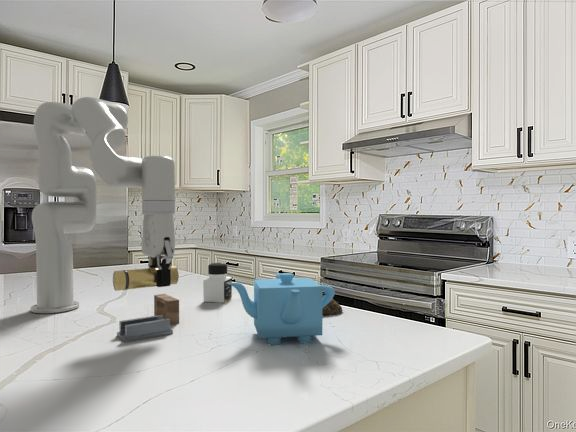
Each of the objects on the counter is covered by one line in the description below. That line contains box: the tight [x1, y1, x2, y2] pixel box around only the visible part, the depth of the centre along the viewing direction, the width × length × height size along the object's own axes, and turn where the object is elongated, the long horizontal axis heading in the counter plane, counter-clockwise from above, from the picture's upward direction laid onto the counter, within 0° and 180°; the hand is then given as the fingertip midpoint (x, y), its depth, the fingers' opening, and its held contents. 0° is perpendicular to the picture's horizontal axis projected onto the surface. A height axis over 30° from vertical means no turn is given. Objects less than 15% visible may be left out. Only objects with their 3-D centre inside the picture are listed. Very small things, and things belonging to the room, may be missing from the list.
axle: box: [112, 265, 180, 292], centre depth 101 cm, size 14×4×4 cm, turn 127°
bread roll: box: [322, 294, 343, 317], centre depth 125 cm, size 13×12×5 cm
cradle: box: [116, 315, 174, 343], centre depth 101 cm, size 6×11×3 cm, turn 127°
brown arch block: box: [153, 293, 180, 326], centre depth 114 cm, size 10×3×6 cm, turn 37°
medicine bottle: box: [203, 262, 233, 304], centre depth 139 cm, size 7×7×12 cm
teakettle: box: [227, 272, 336, 346], centre depth 99 cm, size 19×19×15 cm
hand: (159, 284), depth 103 cm, fingers closed on axle, 4 cm apart
